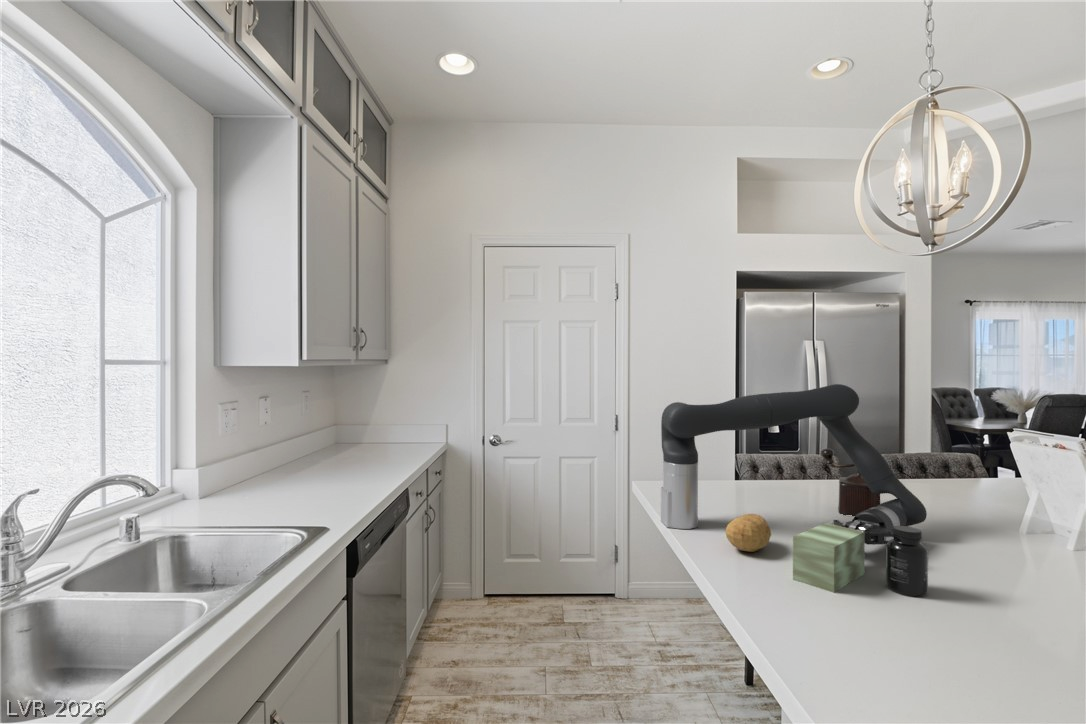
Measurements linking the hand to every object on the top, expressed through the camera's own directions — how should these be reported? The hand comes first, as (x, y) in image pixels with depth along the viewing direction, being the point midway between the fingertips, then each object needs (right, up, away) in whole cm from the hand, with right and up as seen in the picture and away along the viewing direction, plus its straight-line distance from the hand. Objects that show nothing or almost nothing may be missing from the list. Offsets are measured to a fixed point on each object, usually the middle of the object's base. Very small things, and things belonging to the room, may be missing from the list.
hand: (845, 539), depth 117 cm
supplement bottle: (+5, -6, -12) cm, 14 cm away
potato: (-17, -6, +11) cm, 21 cm away
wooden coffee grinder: (+26, -6, +44) cm, 52 cm away
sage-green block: (-6, -6, -5) cm, 10 cm away
